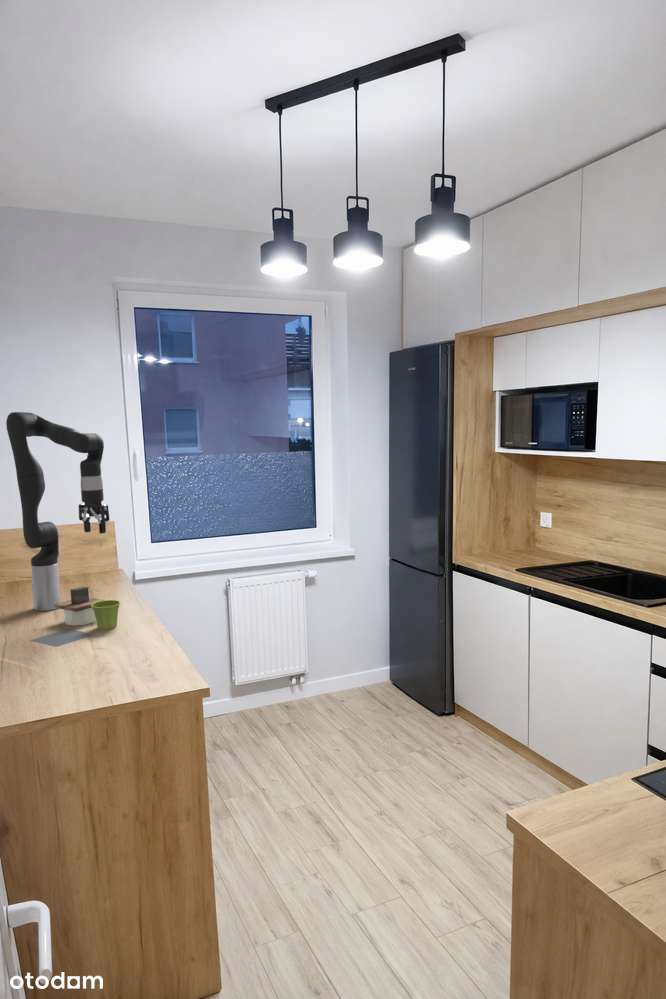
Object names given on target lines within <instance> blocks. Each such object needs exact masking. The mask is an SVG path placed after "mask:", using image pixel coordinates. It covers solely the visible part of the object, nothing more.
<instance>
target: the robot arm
mask: <svg viewBox="0 0 666 999" xmlns="http://www.w3.org/2000/svg"><path fill="white" fill-rule="evenodd" d="M6 417H7V418H6V421H5V422H6V423H5V424H6V431H7V435H8V439H9V442H10V447H11V450H12V454H13V459H14V465H15V472H16V479H17V480H16V482H17V486H18V492H19V498H20V504H21V512H22V530H23V531H22V532H23V534H22V535H23V538H24V539H23V540H24V541H25V544H26V546H27V547H29V548H30V549H38V548H40V550H39V551H38V553H37V554H35V555H34V556H32V557H31V559H30V566H31V576H32V577H31V578H32V585H31V589H32V602H33V609H34V610H35V611H37V612H48V611H54V610H57V609H59V608H55V604H58V603H62V602H61V588H60V579H59V578H60V577H59V576H60V575H59V565H58V564H59V563H58V559H59V554H60V552H59V548H60V547H59V544H60V543H59V532H58V528H57V526H56V524H55V523H53V522H52V521H42V522H39V518H38V517H39V516H38V515H39V514H38V510H39V506H40V504H41V501H42V498H43V496H44V493H45V491H46V481H45V474H44V470H43V468H42V466H41V464H40V463H39V461H38V460H37V459H36V457H35V456H34V454H33V453H32V452H31V450H30V448H29V445H28V438H29V437H44V438H47V439H49V440H50V441H51V442H53V443H55V444H57V445H60V446H64V447H66V448H69V449H71V450H72V451H75V452H77V453H79V454H80V453H81V454H87V457H86V458H85V459H84V460H81V461H80V463H79V470H80V472H79V473H80V494H81V502H83V503H81V504H80V503H79V504H78V519H79V521H81V522H82V523H83V530H84V533H91V532H92V531H91V530H92V529H91V520H92V518H93V517H94V518H95V519H96V520H97V522H98V532H99V533H98V534H106V532H107V526H106V523H107V522H109V521H110V520H111V519H110V513H109V512H110V511H109V505H108V504H102V502H103V501H104V500H105V499H104V498H105V497H104V485H103V479H102V469H101V468H102V467H101V464H102V460H103V453H104V448H105V444H104V440H103V438H102V436H101V435H100V434H99V433H91V432H90V433H84V432H83V433H82V432H80V431H79V430H77V429H75V428H71V427H69V426H64V425H61V424H59V423H54V422H52V421H50V420H47V419H46V418H43V417H41V416H40V415H38V414H35V413H33V412H28V411H27V412H24V411H20V412H19V411H13V412H10V413H9V414H8V415H7V416H6Z"/></svg>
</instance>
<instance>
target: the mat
mask: <svg viewBox="0 0 666 999" xmlns="http://www.w3.org/2000/svg"><path fill="white" fill-rule="evenodd" d="M94 635H95V633H90V632H86V631H81V630H76V629H73V628H65V629H63V630H59V631H55V632H52V633H50V634H46V635H42V636H40V637H36V638H32V639H30V641H31V642H35V643H38V644H39V643H40V644H43V645H48V646H52V647H55V648H56V647H61V646H63V645H66V644H71V643H74V642H76V641H79V640H81V639H85V638H88V637H91V636H94Z"/></svg>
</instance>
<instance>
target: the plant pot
mask: <svg viewBox="0 0 666 999" xmlns="http://www.w3.org/2000/svg"><path fill="white" fill-rule="evenodd" d="M104 600H105V601H99V602H95V603H93V604H92V605H91V607H92V608H93V611H94V613H95V618H96V621H95V622H96V626H97V629H98V630H101V631H106V630H112V629H115V628H117V627H118V617H119V616H118V614H119V608H120V605H121V601H120V600H115V599H108V600H107V599H104Z"/></svg>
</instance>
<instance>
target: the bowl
mask: <svg viewBox="0 0 666 999" xmlns="http://www.w3.org/2000/svg"><path fill="white" fill-rule="evenodd" d="M63 610H64V609H63ZM64 620H65V623H64V624H65V625H69V626H80V625H81V626H83V625H88V624H92V623H95V622H96V618H95V613H94V611H93V608H88V609H85V610H81V611H78V612H74V611H69V610H64Z"/></svg>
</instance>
